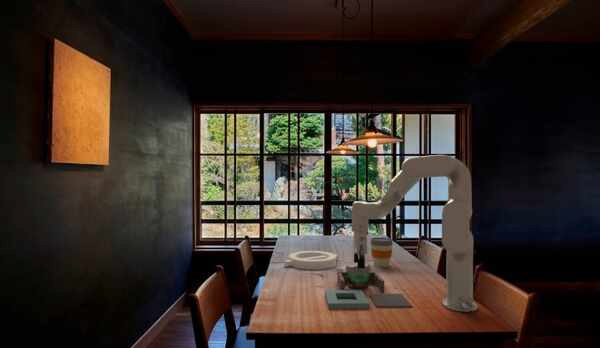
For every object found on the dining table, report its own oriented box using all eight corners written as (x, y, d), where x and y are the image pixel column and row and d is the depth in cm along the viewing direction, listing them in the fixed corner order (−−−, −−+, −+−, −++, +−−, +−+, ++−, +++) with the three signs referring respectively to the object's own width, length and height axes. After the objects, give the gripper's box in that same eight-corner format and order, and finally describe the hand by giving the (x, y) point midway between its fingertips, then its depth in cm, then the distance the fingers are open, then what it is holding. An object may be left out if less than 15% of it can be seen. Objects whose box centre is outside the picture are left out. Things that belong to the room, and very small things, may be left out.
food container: (350, 291, 156) (350, 268, 156) (345, 287, 161) (345, 265, 162) (375, 289, 159) (375, 267, 159) (369, 285, 165) (369, 263, 165)
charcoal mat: (412, 307, 136) (412, 305, 136) (376, 307, 136) (376, 305, 136) (401, 295, 150) (401, 293, 150) (369, 295, 150) (369, 294, 150)
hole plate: (369, 308, 135) (369, 303, 135) (328, 308, 135) (328, 303, 135) (361, 294, 151) (361, 290, 151) (325, 294, 151) (325, 290, 151)
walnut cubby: (384, 292, 154) (384, 281, 154) (341, 292, 154) (341, 281, 154) (376, 281, 170) (376, 271, 170) (337, 281, 170) (337, 271, 170)
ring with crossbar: (339, 260, 217) (339, 252, 217) (331, 271, 190) (331, 262, 190) (296, 257, 224) (296, 249, 224) (282, 268, 197) (282, 259, 197)
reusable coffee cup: (368, 262, 208) (368, 237, 208) (388, 262, 209) (388, 237, 209) (373, 268, 196) (373, 241, 196) (395, 267, 196) (395, 241, 197)
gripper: (372, 231, 152) (371, 270, 152) (364, 225, 169) (363, 260, 169) (355, 231, 152) (354, 270, 152) (349, 225, 169) (348, 260, 169)
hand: (359, 265), depth 161 cm, fingers open, 9 cm apart
